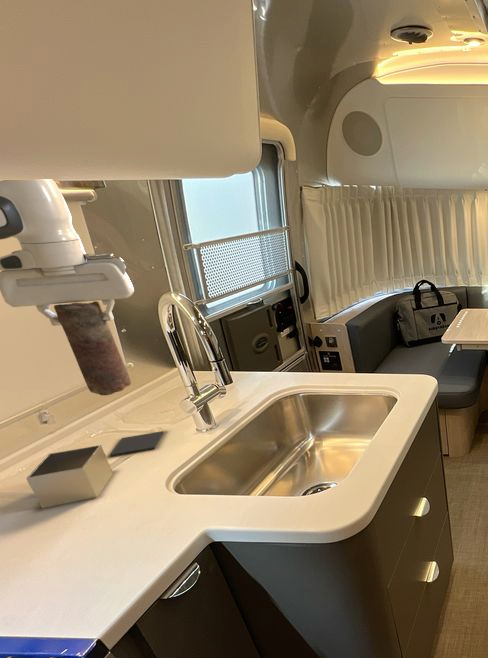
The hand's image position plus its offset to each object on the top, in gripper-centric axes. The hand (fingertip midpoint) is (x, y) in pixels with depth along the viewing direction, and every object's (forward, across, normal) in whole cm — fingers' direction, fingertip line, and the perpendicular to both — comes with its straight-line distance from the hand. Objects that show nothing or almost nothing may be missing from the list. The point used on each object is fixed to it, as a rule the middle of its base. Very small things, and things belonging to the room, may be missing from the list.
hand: (84, 322), depth 102 cm
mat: (+31, 0, -1) cm, 31 cm away
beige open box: (+31, +5, +16) cm, 35 cm away
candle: (+16, 0, 0) cm, 16 cm away
